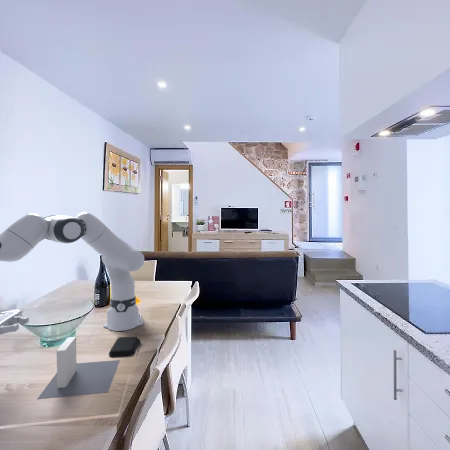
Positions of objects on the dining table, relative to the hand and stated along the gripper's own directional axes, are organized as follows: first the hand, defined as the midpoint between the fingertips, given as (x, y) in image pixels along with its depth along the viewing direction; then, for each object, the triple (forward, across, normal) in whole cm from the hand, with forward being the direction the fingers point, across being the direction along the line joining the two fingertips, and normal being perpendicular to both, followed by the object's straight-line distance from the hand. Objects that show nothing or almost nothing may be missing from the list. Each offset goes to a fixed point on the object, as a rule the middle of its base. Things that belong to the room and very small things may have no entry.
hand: (22, 324), depth 94 cm
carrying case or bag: (+29, +20, +20) cm, 41 cm away
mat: (+18, 0, +20) cm, 27 cm away
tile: (+13, 0, +19) cm, 23 cm away
